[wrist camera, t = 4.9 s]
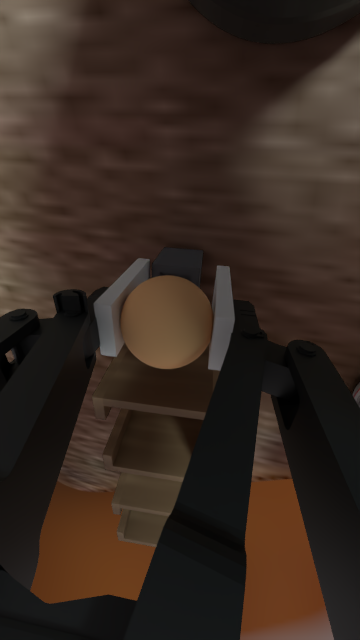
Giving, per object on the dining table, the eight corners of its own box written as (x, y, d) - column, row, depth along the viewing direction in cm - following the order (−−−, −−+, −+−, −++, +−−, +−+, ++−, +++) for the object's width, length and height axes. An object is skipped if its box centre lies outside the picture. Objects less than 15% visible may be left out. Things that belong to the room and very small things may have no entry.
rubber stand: (164, 247, 19) (151, 263, 15) (203, 250, 19) (200, 268, 15) (163, 283, 20) (152, 306, 17) (199, 287, 20) (196, 311, 16)
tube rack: (139, 307, 22) (90, 391, 13) (221, 316, 21) (225, 410, 13) (144, 443, 32) (118, 541, 23) (199, 452, 31) (193, 555, 23)
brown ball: (134, 259, 13) (98, 294, 9) (220, 267, 12) (220, 307, 8) (137, 330, 15) (110, 382, 11) (210, 338, 14) (206, 396, 11)
